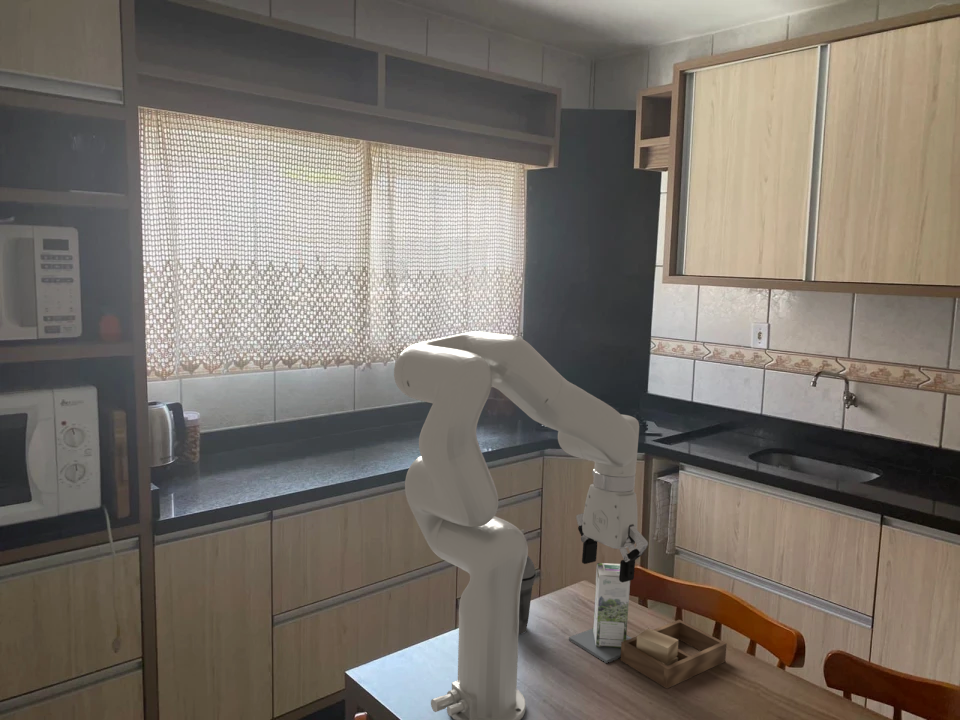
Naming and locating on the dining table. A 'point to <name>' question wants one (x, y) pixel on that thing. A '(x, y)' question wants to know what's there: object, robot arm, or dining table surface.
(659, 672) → the divided wooden tray
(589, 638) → the plate
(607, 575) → the syrup box
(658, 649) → the offcut upper
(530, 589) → the beverage cup
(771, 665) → the dining table surface
